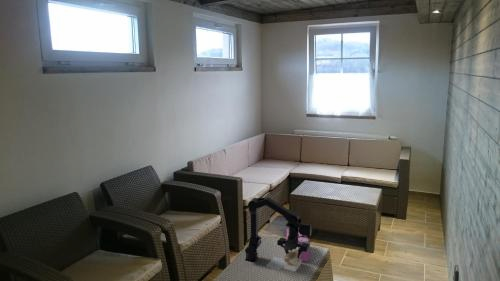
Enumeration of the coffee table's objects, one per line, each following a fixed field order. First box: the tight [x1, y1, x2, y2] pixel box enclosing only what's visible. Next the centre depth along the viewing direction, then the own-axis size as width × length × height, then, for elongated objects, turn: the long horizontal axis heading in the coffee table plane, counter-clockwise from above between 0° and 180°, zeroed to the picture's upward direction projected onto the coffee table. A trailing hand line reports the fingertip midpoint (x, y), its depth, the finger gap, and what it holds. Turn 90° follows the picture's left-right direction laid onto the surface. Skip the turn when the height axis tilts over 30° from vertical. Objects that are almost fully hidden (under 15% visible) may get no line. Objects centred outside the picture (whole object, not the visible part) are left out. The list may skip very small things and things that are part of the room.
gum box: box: [286, 226, 311, 262], centre depth 241 cm, size 24×8×14 cm, turn 14°
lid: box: [283, 250, 301, 264], centre depth 224 cm, size 6×11×3 cm, turn 152°
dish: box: [283, 259, 302, 272], centre depth 224 cm, size 7×10×4 cm
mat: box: [265, 256, 286, 271], centre depth 228 cm, size 9×13×1 cm
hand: (292, 257), depth 224 cm, fingers closed on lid, 6 cm apart
